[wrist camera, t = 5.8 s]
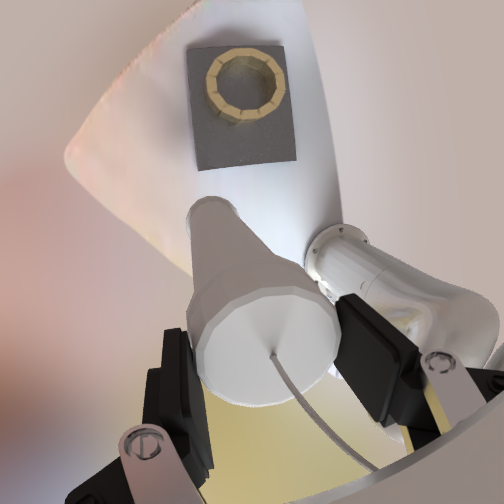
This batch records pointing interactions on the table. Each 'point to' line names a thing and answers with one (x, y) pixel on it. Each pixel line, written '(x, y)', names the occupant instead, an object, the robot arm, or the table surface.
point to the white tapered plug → (256, 317)
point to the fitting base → (240, 106)
